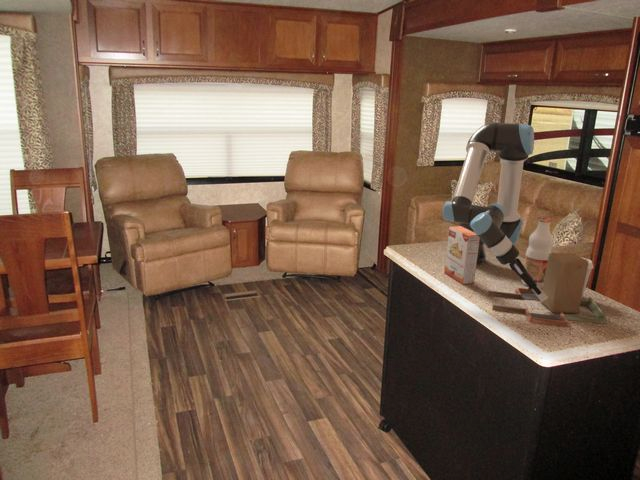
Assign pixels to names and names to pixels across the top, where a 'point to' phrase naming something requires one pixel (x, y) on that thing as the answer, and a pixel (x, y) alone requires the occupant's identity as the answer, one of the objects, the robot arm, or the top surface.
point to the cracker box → (462, 254)
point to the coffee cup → (590, 266)
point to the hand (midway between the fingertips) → (544, 299)
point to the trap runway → (544, 318)
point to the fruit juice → (539, 251)
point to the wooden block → (564, 282)
